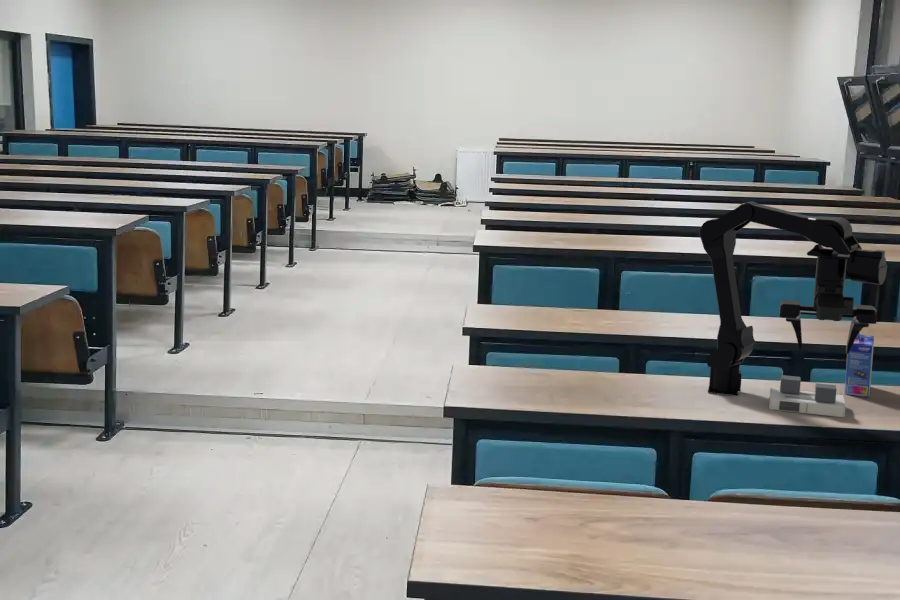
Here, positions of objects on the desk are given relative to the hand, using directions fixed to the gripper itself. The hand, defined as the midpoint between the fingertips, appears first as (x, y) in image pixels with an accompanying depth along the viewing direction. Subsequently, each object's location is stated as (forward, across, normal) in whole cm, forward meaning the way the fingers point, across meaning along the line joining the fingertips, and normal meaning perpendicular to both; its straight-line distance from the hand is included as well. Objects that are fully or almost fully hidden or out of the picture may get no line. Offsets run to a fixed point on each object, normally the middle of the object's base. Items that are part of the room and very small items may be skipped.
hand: (823, 351), depth 200 cm
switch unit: (+13, -2, +2) cm, 14 cm away
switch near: (+10, +1, 0) cm, 10 cm away
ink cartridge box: (+14, +9, +20) cm, 25 cm away
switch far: (+10, -6, +4) cm, 12 cm away
